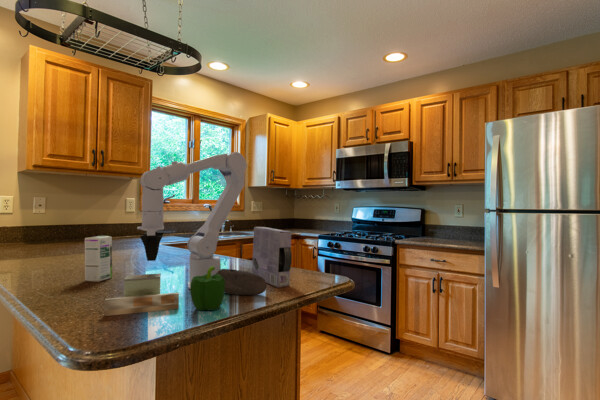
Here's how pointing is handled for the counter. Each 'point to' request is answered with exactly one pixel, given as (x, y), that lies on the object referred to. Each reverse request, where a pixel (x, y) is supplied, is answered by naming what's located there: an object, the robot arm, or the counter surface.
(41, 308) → the counter surface
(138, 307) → the shelf board
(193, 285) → the bell pepper
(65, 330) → the counter surface
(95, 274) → the syrup box
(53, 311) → the counter surface
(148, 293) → the tea tin
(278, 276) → the cake pan box
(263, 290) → the perforated stone tool
